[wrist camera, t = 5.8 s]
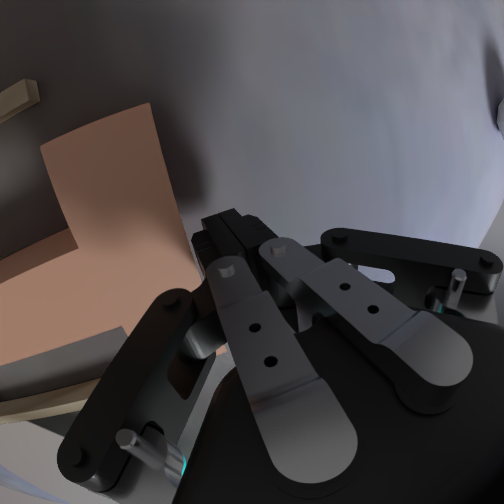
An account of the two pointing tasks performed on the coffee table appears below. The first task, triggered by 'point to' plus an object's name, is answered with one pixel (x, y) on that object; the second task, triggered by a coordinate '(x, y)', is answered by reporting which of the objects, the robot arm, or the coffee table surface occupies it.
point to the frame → (68, 397)
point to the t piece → (97, 240)
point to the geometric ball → (501, 118)
